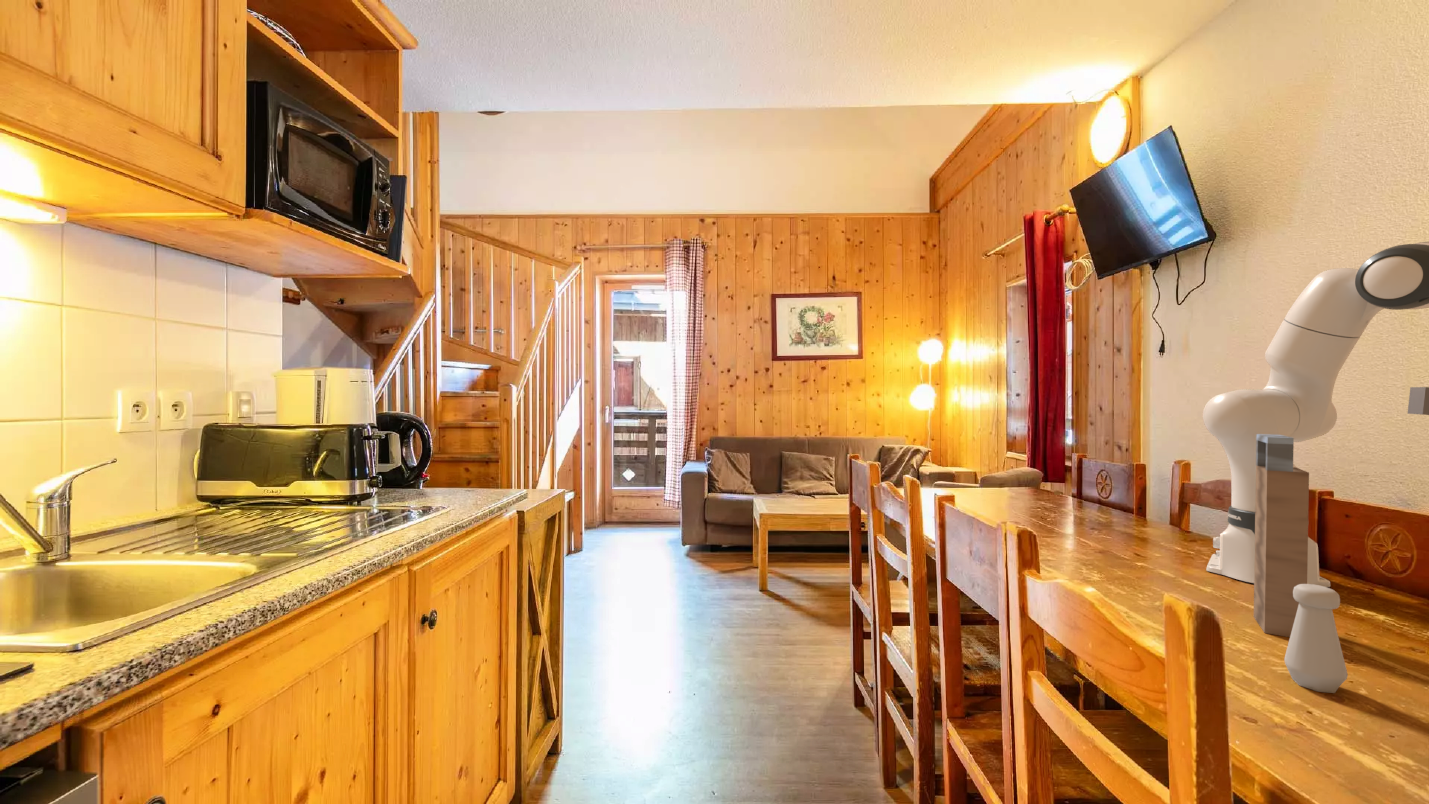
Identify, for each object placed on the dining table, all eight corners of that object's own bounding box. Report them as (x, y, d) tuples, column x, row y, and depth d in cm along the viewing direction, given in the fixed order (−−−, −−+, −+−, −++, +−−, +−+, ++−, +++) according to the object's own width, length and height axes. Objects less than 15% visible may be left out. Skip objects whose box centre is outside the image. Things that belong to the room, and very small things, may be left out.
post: (1253, 616, 101) (1256, 434, 100) (1292, 622, 98) (1295, 435, 98) (1264, 632, 94) (1267, 437, 94) (1306, 639, 92) (1309, 438, 91)
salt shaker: (1360, 698, 74) (1362, 595, 74) (1306, 694, 75) (1308, 592, 75) (1322, 676, 80) (1324, 581, 80) (1273, 672, 81) (1274, 578, 81)
